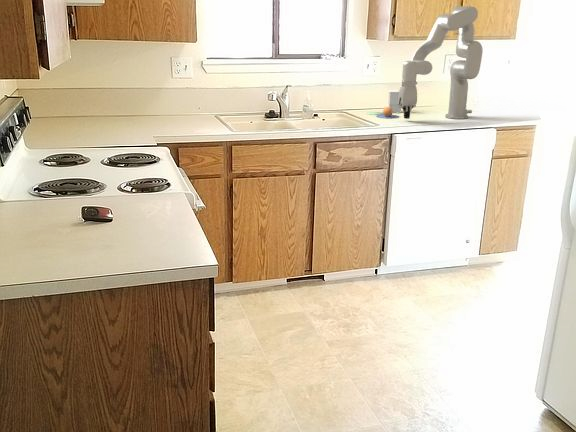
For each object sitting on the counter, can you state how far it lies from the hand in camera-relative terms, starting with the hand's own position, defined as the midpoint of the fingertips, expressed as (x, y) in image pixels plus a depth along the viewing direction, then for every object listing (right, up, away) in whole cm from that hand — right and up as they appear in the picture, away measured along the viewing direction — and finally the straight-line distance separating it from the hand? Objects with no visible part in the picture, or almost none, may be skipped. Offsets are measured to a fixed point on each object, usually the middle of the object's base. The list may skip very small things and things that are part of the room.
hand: (406, 118), depth 330 cm
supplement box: (-1, +9, +31) cm, 32 cm away
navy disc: (-8, +3, +15) cm, 17 cm away
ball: (-8, +6, +13) cm, 17 cm away
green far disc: (-13, +7, +25) cm, 29 cm away
